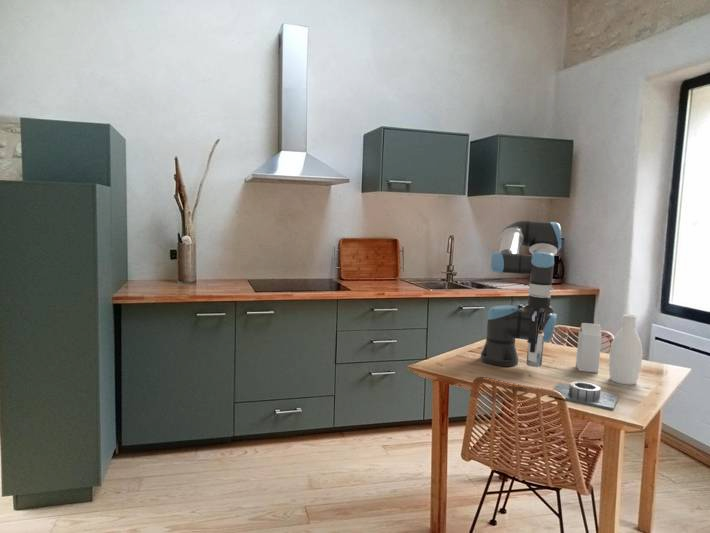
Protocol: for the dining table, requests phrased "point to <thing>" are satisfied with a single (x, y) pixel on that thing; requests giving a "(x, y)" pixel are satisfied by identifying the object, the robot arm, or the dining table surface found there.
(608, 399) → the flange plate
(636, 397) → the dining table surface
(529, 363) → the block
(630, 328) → the bottle
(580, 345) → the milk carton
